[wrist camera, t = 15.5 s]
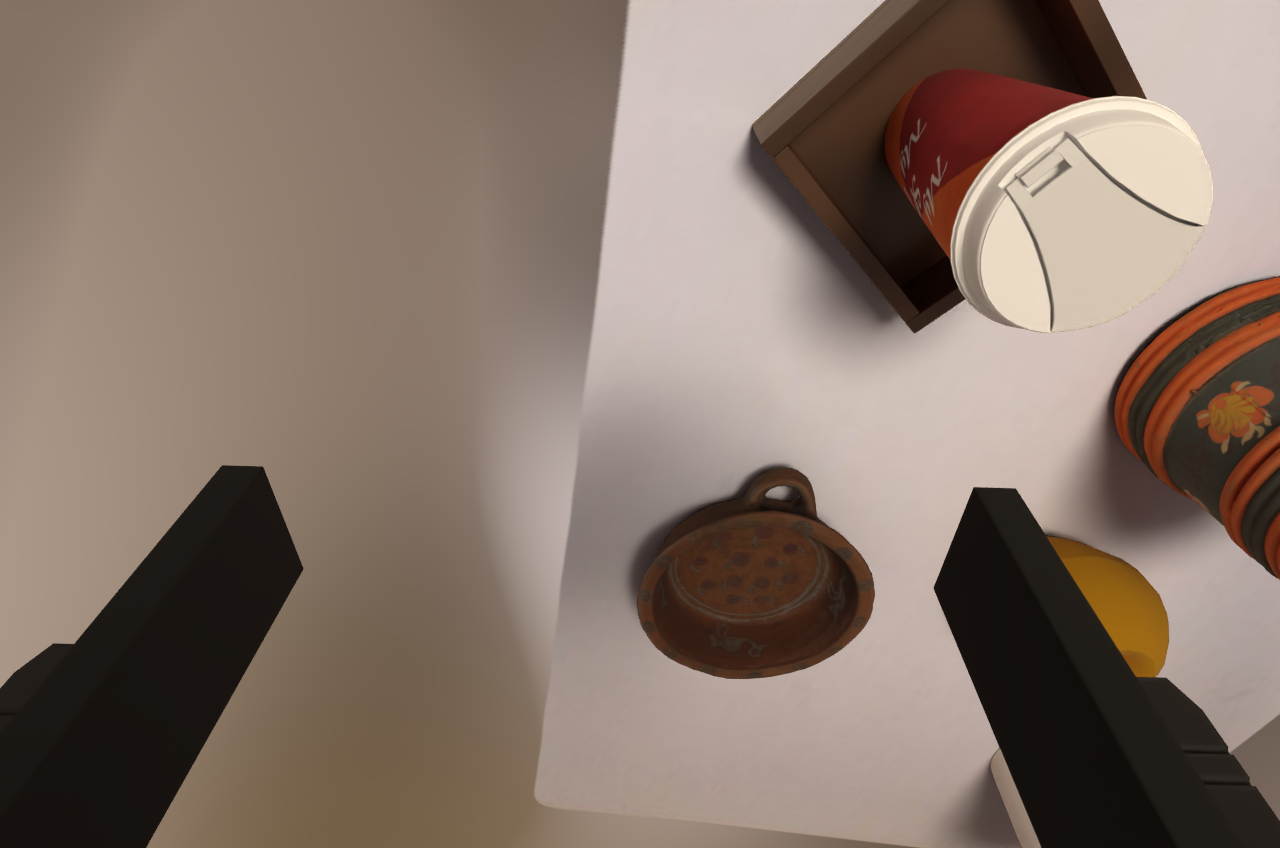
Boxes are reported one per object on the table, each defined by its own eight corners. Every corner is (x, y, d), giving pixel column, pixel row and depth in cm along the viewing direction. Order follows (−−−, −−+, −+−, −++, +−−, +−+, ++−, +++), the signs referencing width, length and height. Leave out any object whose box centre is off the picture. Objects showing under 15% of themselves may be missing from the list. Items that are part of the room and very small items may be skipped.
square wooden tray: (751, 125, 36) (760, 144, 32) (1000, -107, 30) (1043, -113, 26) (894, 302, 41) (914, 334, 38) (1127, 135, 35) (1175, 156, 32)
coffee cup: (828, 136, 35) (916, 243, 23) (970, -1, 32) (1164, 40, 19) (921, 243, 38) (1042, 387, 26) (1060, 130, 35) (1275, 236, 23)
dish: (907, 472, 49) (929, 520, 45) (808, 656, 62) (819, 707, 57) (668, 433, 47) (669, 480, 43) (618, 630, 60) (615, 681, 56)
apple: (1131, 507, 50) (1241, 641, 41) (1078, 595, 56) (1163, 731, 46) (998, 502, 50) (1077, 635, 41) (958, 590, 56) (1020, 725, 46)
